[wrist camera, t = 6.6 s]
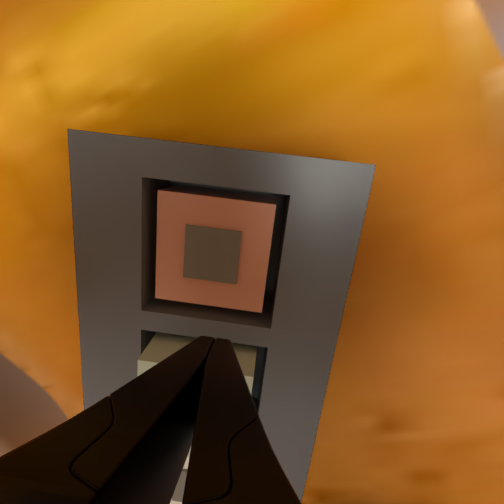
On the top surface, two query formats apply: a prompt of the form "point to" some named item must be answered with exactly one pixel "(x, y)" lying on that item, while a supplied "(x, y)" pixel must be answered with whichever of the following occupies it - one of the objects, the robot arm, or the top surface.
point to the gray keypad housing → (211, 317)
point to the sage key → (171, 343)
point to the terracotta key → (213, 246)
